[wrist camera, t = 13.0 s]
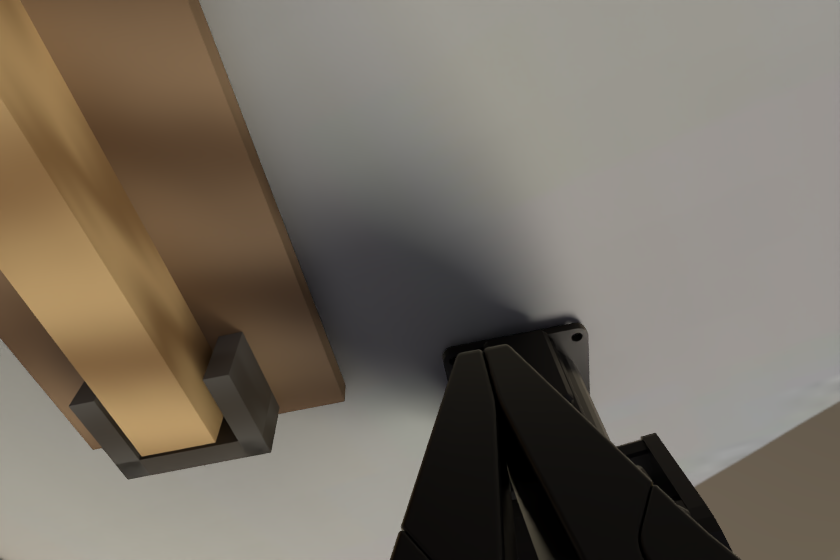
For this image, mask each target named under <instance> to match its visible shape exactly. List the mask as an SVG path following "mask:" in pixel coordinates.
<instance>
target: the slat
mask: <svg viewBox="0 0 840 560" xmlns="http://www.w3.org/2000/svg"><path fill="white" fill-rule="evenodd" d="M0 270H1V271H2V273H3V274H4V275H5V277H6V278H7V279H8V280H9V282H10V283H11V284H12V286H13V287H14V288H15V290H16V291H17V292H18V294H19V295H20V296H21V298H22V299H23V300H24V302H25V303H26V304H27V306H28V307H29V308H30V310H31V311H32V312H33V313H34V315H35V316H36V317H37V319H38V320H39V321H40V323H41V324H42V325H43V327H44V328H45V329H46V331H47V332H48V333H49V335H50V336H51V337H52V339H53V340H54V341H55V343H56V344H57V345H58V346H59V348H60V349H61V350H62V352H63V353H64V354H65V356H66V357H67V358H68V360H69V361H70V362H71V364H72V365H73V366H74V368H75V369H76V370H77V372H78V373H79V374H80V375H81V377H82V378H83V379H84V381H85V382H86V383H87V385H88V386H89V387H90V389H91V390H92V391H93V393H94V394H95V395H96V397H97V398H98V399H99V401H100V402H101V403H102V405H103V406H104V407H105V408H106V410H107V411H108V412H109V414H110V415H111V416H112V418H113V419H114V420H115V422H116V423H117V424H118V426H119V427H120V428H121V430H122V431H123V432H124V434H125V435H126V436H127V438H128V439H129V440H130V441H131V443H132V444H133V445H134V447H135V448H136V449H137V451H138V452H139V453H140V455H141V456H148V455H153V454H158V453H163V452H168V451H174V450H179V449H184V448H189V447H195V446H200V445H205V444H210V443H215V442H216V439H217V436H218V433H219V429H220V426H221V423H222V419H223V414H222V412H221V411H220V409H219V407H218V406H217V404H216V402H215V400H214V399H213V397H212V395H211V394H210V392H209V390H208V388H207V387H206V385H205V383H204V382H203V377H204V374H205V372H206V369H207V366H208V364H209V361H210V358H211V356H212V353H213V351H212V349H211V347H210V346H209V344H208V342H207V340H206V338H205V337H204V335H203V333H202V331H201V329H200V327H199V326H198V324H197V322H196V320H195V318H194V316H193V315H192V313H191V311H190V309H189V307H188V306H187V304H186V302H185V300H184V298H183V296H182V295H181V293H180V291H179V289H178V287H177V285H176V284H175V282H174V280H173V278H172V276H171V275H170V273H169V271H168V269H167V267H166V265H165V264H164V262H163V260H162V258H161V256H160V254H159V253H158V251H157V249H156V247H155V245H154V243H153V242H152V240H151V238H150V236H149V234H148V233H147V231H146V229H145V227H144V225H143V223H142V222H141V220H140V218H139V216H138V214H137V212H136V211H135V209H134V207H133V205H132V203H131V202H130V200H129V198H128V196H127V194H126V192H125V191H124V189H123V187H122V185H121V183H120V181H119V180H118V178H117V176H116V174H115V172H114V171H113V169H112V167H111V165H110V163H109V161H108V160H107V158H106V156H105V154H104V152H103V150H102V149H101V147H100V145H99V143H98V141H97V140H96V138H95V136H94V134H93V132H92V130H91V129H90V127H89V125H88V123H87V121H86V119H85V118H84V116H83V114H82V112H81V110H80V109H79V107H78V105H77V103H76V101H75V99H74V98H73V96H72V94H71V92H70V90H69V88H68V87H67V85H66V83H65V81H64V79H63V77H62V76H61V74H60V72H59V70H58V68H57V67H56V65H55V63H54V61H53V59H52V57H51V56H50V54H49V52H48V50H47V48H46V46H45V45H44V43H43V41H42V39H41V37H40V36H39V34H38V32H37V30H36V28H35V26H34V25H33V23H32V21H31V19H30V17H29V15H28V14H27V12H26V10H25V8H24V6H23V5H22V3H21V1H20V0H0Z"/></svg>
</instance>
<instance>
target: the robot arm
mask: <svg viewBox="0 0 840 560" xmlns="http://www.w3.org/2000/svg"><path fill="white" fill-rule="evenodd" d="M575 333H578V334H577V335H575V336H572V335H573V334H575ZM452 357H456V359H451V358H452ZM443 362H444V367H445V371H446V375H447V380H448V384H447V387H446V390H445V393H444V396H443V399H442V402H441V405H440V408H439V411H438V415H437V418H436V421H435V424H434V427H433V430H432V433H431V436H430V439H429V442H428V445H427V448H426V451H425V454H424V457H423V461H422V464H421V467H420V470H419V473H418V476H417V479H416V482H415V485H414V488H413V491H412V494H411V497H410V500H409V503H408V506H407V510H406V513H405V516H404V519H403V522H402V525H401V529H402V531H400V532H399V533H398V536H397V539H396V542H395V546H394V549H393V552H392V555H391V558H390V560H741V559H740V558H739V557H738V556H736V555H735V554H734V553H733V552H732V550H731V548H730V546H729V544H728V542H727V540H726V538H725V536H724V534H723V532H722V530H721V528H720V526H719V525H718V523H717V521H716V519H715V518H714V516H713V515H712V513H711V511H710V510H709V508H708V507H707V505H706V504H705V502H704V501H703V499H702V498H701V497H700V495H699V494H698V492H697V491H696V490H695V488H694V487H693V485H692V484H691V482H690V481H689V480H688V478H687V477H686V475H685V474H684V472H683V471H682V470H681V468H680V467H679V465H678V464H677V463H676V461H675V460H674V458H673V457H672V455H671V454H670V453H669V451H668V450H667V448H666V447H665V446H664V444H663V443H662V441H661V440H660V438H659V437H658V436H657V434H656V433H653V434H649V435H646V436H642V437H641V440H638V441H634V442H631V443H627V444H623V445H620V446H615V445H614V444H613V443H612V442H611V441H610V439H609V437H608V434H607V432H606V430H605V428H604V426H603V423H602V421H601V419H600V417H599V415H598V412H597V410H596V408H595V406H594V404H593V402H592V399H591V397H590V386H589V346H588V333H587V330H586V328H585V327H584V325H582V324H580V323H571V324H566V325H561V326H556V327H551V328H546V329H540V330H535V331H530V332H525V333H520V334H515V335H510V336H505V337H500V338H495V339H489V340H484V341H479V342H474V343H469V344H464V345H459V346H454V347H450V348H448V349H446V350H445V351H444V353H443Z"/></svg>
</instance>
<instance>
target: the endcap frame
mask: <svg viewBox="0 0 840 560" xmlns="http://www.w3.org/2000/svg"><path fill="white" fill-rule="evenodd" d="M20 1H21V3H22V5H23V6H24V8H25V10H26V12H27V14H28V15H29V17H30V19H31V21H32V23H33V25H34V26H35V28H36V30H37V32H38V34H39V36H40V37H41V39H42V41H43V43H44V45H45V46H46V48H47V50H48V52H49V54H50V56H51V57H52V59H53V61H54V63H55V65H56V67H57V68H58V70H59V72H60V74H61V76H62V77H63V79H64V81H65V83H66V85H67V87H68V88H69V90H70V92H71V94H72V96H73V98H74V99H75V101H76V103H77V105H78V107H79V109H80V110H81V112H82V114H83V116H84V118H85V119H86V121H87V123H88V125H89V127H90V129H91V130H92V132H93V134H94V136H95V138H96V140H97V141H98V143H99V145H100V147H101V149H102V150H103V152H104V154H105V156H106V158H107V160H108V161H109V163H110V165H111V167H112V169H113V171H114V172H115V174H116V176H117V178H118V180H119V181H120V183H121V185H122V187H123V189H124V191H125V192H126V194H127V196H128V198H129V200H130V202H131V203H132V205H133V207H134V209H135V211H136V212H137V214H138V216H139V218H140V220H141V222H142V223H143V225H144V227H145V229H146V231H147V233H148V234H149V236H150V238H151V240H152V242H153V243H154V245H155V247H156V249H157V251H158V253H159V254H160V256H161V258H162V260H163V262H164V264H165V265H166V267H167V269H168V271H169V273H170V275H171V276H172V278H173V280H174V282H175V284H176V285H177V287H178V289H179V291H180V293H181V295H182V296H183V298H184V300H185V302H186V304H187V306H188V307H189V309H190V311H191V313H192V315H193V316H194V318H195V320H196V322H197V324H198V326H199V327H200V329H201V331H202V333H203V335H204V337H205V338H206V340H207V342H208V344H209V346H210V347H211V349H212V351H213V353H212V356H211V358H210V361H209V364H208V366H207V369H206V372H205V374H204V377H203V382H204V383H205V385H206V387H207V388H208V390H209V392H210V394H211V395H212V397H213V399H214V400H215V402H216V404H217V406H218V407H219V409H220V411H221V412H222V414H223V419H222V423H221V426H220V429H219V433H218V436H217V439H216V442H215V443H210V444H205V445H200V446H195V447H189V448H184V449H179V450H174V451H168V452H163V453H158V454H153V455H148V456H141V455H140V453H139V452H138V451H137V449H136V448H135V447H134V445H133V444H132V443H131V441H130V440H129V439H128V438H127V436H126V435H125V434H124V432H123V431H122V430H121V428H120V427H119V426H118V424H117V423H116V422H115V420H114V419H113V418H112V416H111V415H110V414H109V412H108V411H107V410H106V408H105V407H104V406H103V405H102V403H101V402H100V401H99V399H98V398H97V397H96V395H95V394H94V393H93V391H92V390H91V389H90V387H89V386H88V385H87V383H86V382H85V381H84V379H83V378H82V377H81V375H80V374H79V373H78V372H77V370H76V369H75V368H74V366H73V365H72V364H71V362H70V361H69V360H68V358H67V357H66V356H65V354H64V353H63V352H62V350H61V349H60V348H59V346H58V345H57V344H56V343H55V341H54V340H53V339H52V337H51V336H50V335H49V333H48V332H47V331H46V329H45V328H44V327H43V325H42V324H41V323H40V321H39V320H38V319H37V317H36V316H35V315H34V313H33V312H32V311H31V310H30V308H29V307H28V306H27V304H26V303H25V302H24V300H23V299H22V298H21V296H20V295H19V294H18V292H17V291H16V290H15V288H14V287H13V286H12V284H11V283H10V282H9V280H8V279H7V278H6V277H5V275H4V274H3V273H2V271H1V270H0V338H1V339H2V341H3V342H4V343H5V344H6V345H7V347H8V348H9V349H10V350H11V351H12V353H13V354H14V355H15V356H16V358H17V359H18V360H19V361H20V362H21V364H22V365H23V366H24V367H25V368H26V370H27V371H28V372H29V373H30V374H31V376H32V377H33V378H34V379H35V380H36V382H37V383H38V384H39V385H40V386H41V388H42V389H43V390H44V391H45V393H46V394H47V395H48V396H49V397H50V399H51V400H52V401H53V402H54V403H55V405H56V406H57V407H58V408H59V409H60V411H61V412H62V413H63V414H64V415H65V417H66V418H67V419H68V420H69V421H70V423H71V424H72V425H73V426H74V427H75V429H76V430H77V431H78V432H79V434H80V435H81V436H82V437H83V438H84V440H85V441H86V442H87V443H88V444H89V446H90V447H91V448H92V449H93V450H94V449H99V448H103V450H104V451H105V452H106V453H107V454H108V456H109V457H110V458H111V459H112V461H113V462H114V463H115V464H116V466H117V467H118V468H119V469H120V470H121V472H122V473H123V474H124V475H125V477H126V478H127V479H133V478H138V477H144V476H149V475H154V474H160V473H165V472H170V471H175V470H181V469H186V468H191V467H196V466H202V465H207V464H212V463H218V462H223V461H228V460H233V459H239V458H244V457H249V456H255V455H260V454H265V453H270V452H271V449H272V444H273V439H274V434H275V429H276V424H277V418H278V414H281V413H286V412H291V411H296V410H301V409H307V408H312V407H317V406H322V405H327V404H333V403H338V402H343V401H345V386H346V385H345V383H344V380H343V378H342V375H341V372H340V370H339V367H338V364H337V362H336V359H335V357H334V354H333V351H332V349H331V346H330V343H329V341H328V338H327V336H326V333H325V330H324V328H323V325H322V323H321V320H320V317H319V315H318V312H317V309H316V307H315V304H314V302H313V299H312V296H311V294H310V291H309V288H308V286H307V283H306V281H305V278H304V275H303V273H302V270H301V267H300V265H299V262H298V260H297V257H296V254H295V252H294V249H293V247H292V244H291V241H290V239H289V236H288V233H287V231H286V228H285V226H284V223H283V220H282V218H281V215H280V212H279V210H278V207H277V205H276V202H275V199H274V197H273V194H272V192H271V189H270V186H269V184H268V181H267V178H266V176H265V173H264V171H263V168H262V165H261V163H260V160H259V157H258V155H257V152H256V150H255V147H254V144H253V142H252V139H251V136H250V134H249V131H248V129H247V126H246V123H245V121H244V118H243V116H242V113H241V110H240V108H239V105H238V102H237V100H236V97H235V95H234V92H233V89H232V87H231V84H230V81H229V79H228V76H227V74H226V71H225V68H224V66H223V63H222V61H221V58H220V55H219V53H218V50H217V47H216V45H215V42H214V40H213V37H212V34H211V32H210V29H209V26H208V24H207V21H206V19H205V16H204V13H203V11H202V8H201V5H200V3H199V0H20Z"/></svg>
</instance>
